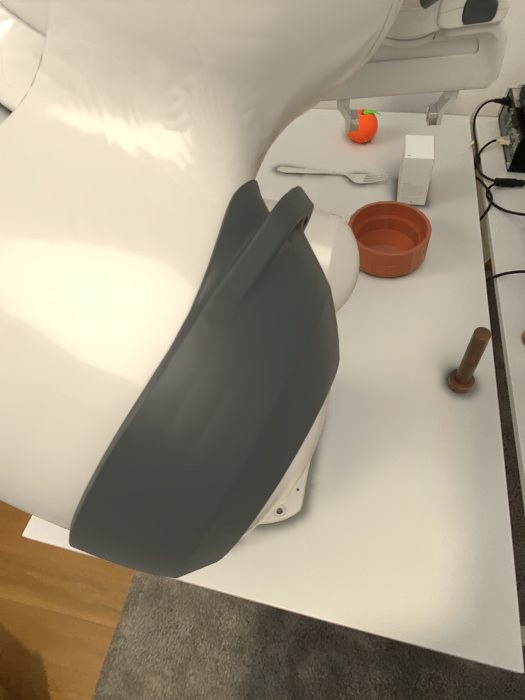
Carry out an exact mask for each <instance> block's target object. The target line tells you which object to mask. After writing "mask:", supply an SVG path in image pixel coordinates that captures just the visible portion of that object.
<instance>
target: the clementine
mask: <svg viewBox="0 0 525 700" xmlns="http://www.w3.org/2000/svg"><path fill="white" fill-rule="evenodd" d="M357 110H358V116H359V124H358V131H351V132H350V131H349V132H346V133H347V135H348V137H349V139H351V140H352V141H354V142H355V143H358V144H359V143H360V144H362V143H363V144H364V143H367V142H369V141H370V140H372V139H373V138H374V137H375V136H376V134H377V131H378V127H379V121H378V118H377V116H376V114H377V115H379V116H380V117H381V118H383V116H382V114H380V113H379V112H378V111H376V110H374V109H367V108H360V109H357Z"/></svg>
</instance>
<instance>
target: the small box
mask: <svg viewBox="0 0 525 700" xmlns="http://www.w3.org/2000/svg"><path fill="white" fill-rule="evenodd" d="M401 153H402V154H401V159H400V160H401V161H400V166H399V173H398V177H397V192H396V193H397V194H396V202H402V203H405V204H408V205H411V206H426V200H427V196H428V191H429V187H430V184H431V183H430V182H431V177H432V173H433V168H434V164H435V159H436V158H435V157H436V156H435V153H436V152H435V135H422V134H405V135H404V141H403V146H402V152H401Z"/></svg>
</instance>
